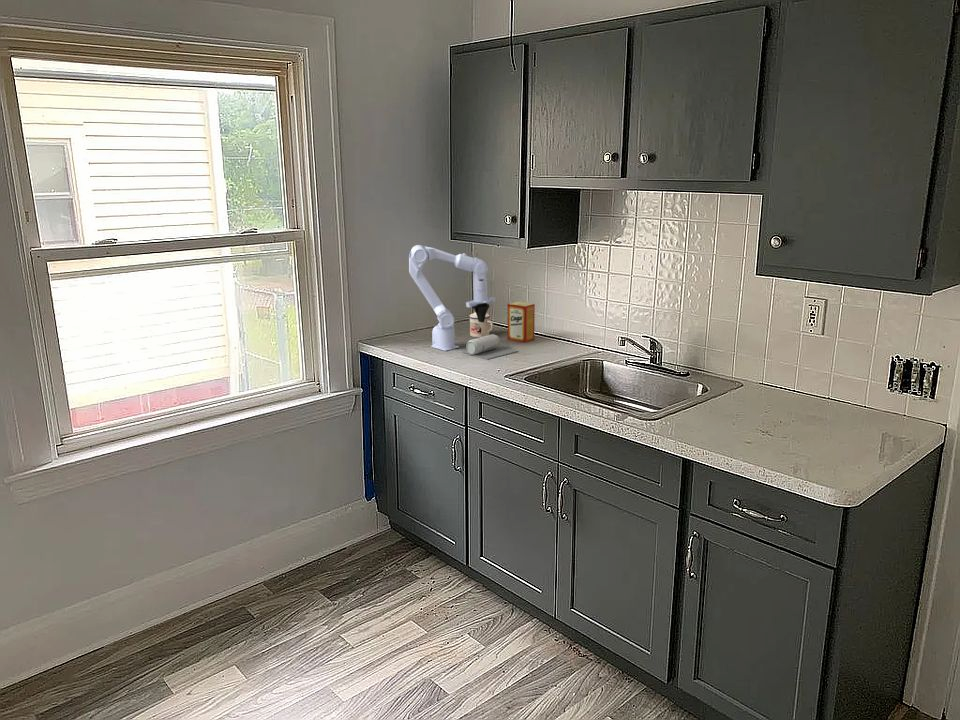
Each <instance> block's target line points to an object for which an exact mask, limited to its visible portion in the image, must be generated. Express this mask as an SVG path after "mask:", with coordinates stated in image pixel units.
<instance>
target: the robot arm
mask: <svg viewBox="0 0 960 720" xmlns="http://www.w3.org/2000/svg"><path fill="white" fill-rule="evenodd" d="M410 249H411V250H410V251H409V255H408V272H409V275H410V277H411V278H412V280H413V281H414V283H415V284H416V285H417V288H418V289H419V291H420V292H421V294H422V295H423V296H424V298H425V299H426V301H427V302H428V304H429V305H430V307H431V309H433V312H434V313H435V314H436V319H437V321H438V324H437V325H435V326H434V327H433V328H432V332H431V333H432V334H431V337H432V339H431V340H432V342H431V343H432V345H430V347H431V348H434V349H437V350H440V351H444V352H446V351H447V352H448V351H451V350H455V349H458V348H459V349H460V346H459V345H456V335H455V334H456V333H455V331H456V330H455V327H456V326H455V317H454V315H453V314H452V312H451V310H450V309H448V308H446V306H445V305H444V304H443V302H442V301H441V299H440V298H439V296H438V295H437V293H436V292H435V289H433V287H432V286H431V284H430V282H429V281H428V279H427V278H426V276H425V275H424V273H423V271H422V270H423V268H424V265H425V263H426V262H427V260H428V261H431V260H434V259H438V260H441V261H444V262H448V263H452V264H453V265H454V266H455V268H457V269H460V270H464V271H466V272H469V273H470V272H473V274H472V275H473V278H472V281H473V282H472V283H473V285H472V286H473V287H472V288H473V299H472V300H469V301H466V302H465V307H466V308H469V309H470V308H473V310H474V313H475V312H476V314H477V317H478V321H479V322H484V320H485V316H486V313H487V312H488V310H489V308H490V303H495V302H496V297H494V296H492V297H491V296H490V297H488V277H487V276H488V275H487V273H488V271H489V267H488V264H487V263H486V262H485V261H484V260H483V259H481V258H478V257H475V256H474V257H471V256H468V255H467V254H466V253H464V252H463V253H459V254H457V255H454V254H452V253H449V252H446V251H444V250H440V249H437V248H435V247H429V246H425V245H421V244H416V245H414V246H412V248H410Z"/></svg>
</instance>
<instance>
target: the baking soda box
mask: <svg viewBox="0 0 960 720" xmlns="http://www.w3.org/2000/svg"><path fill="white" fill-rule="evenodd" d="M535 306H536V304H535V303H530V302H522V301H514V302H510V303H509V302H508V303H507V340H510V341H513V342H519V343H525V344H526V343H529V342H532V341H534V340H535V313H536V312H535V309H536V308H535Z"/></svg>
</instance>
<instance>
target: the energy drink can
mask: <svg viewBox="0 0 960 720" xmlns="http://www.w3.org/2000/svg"><path fill="white" fill-rule="evenodd" d="M500 345H501V339H500V337H499V335H496V334H494V333H492V334H490V335H487V336H484V337H475V338H472V339H469V340H468V341H467V343H466V345H465V346H466V351H468V352H469V353H470V354H472V355H475V354H478V353H482V352H485V351H488V350H492V349H495V348H497V347H498V346H500ZM472 355H471V356H472Z"/></svg>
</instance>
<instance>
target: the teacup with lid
mask: <svg viewBox="0 0 960 720" xmlns="http://www.w3.org/2000/svg"><path fill="white" fill-rule="evenodd" d="M468 317H469V334H470V336H471V337H473V338H480V337H484V336H487V335H491V334H490V332H492V331H493V329H494V323H493V322H492V320H490V318H491V316H490V314H489V313H487V312H486V316H485V320H484V322H479V321H478V317H477V314H476V312H475V311H474V312H473V313H471V314H470V315H469V316H468Z"/></svg>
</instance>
